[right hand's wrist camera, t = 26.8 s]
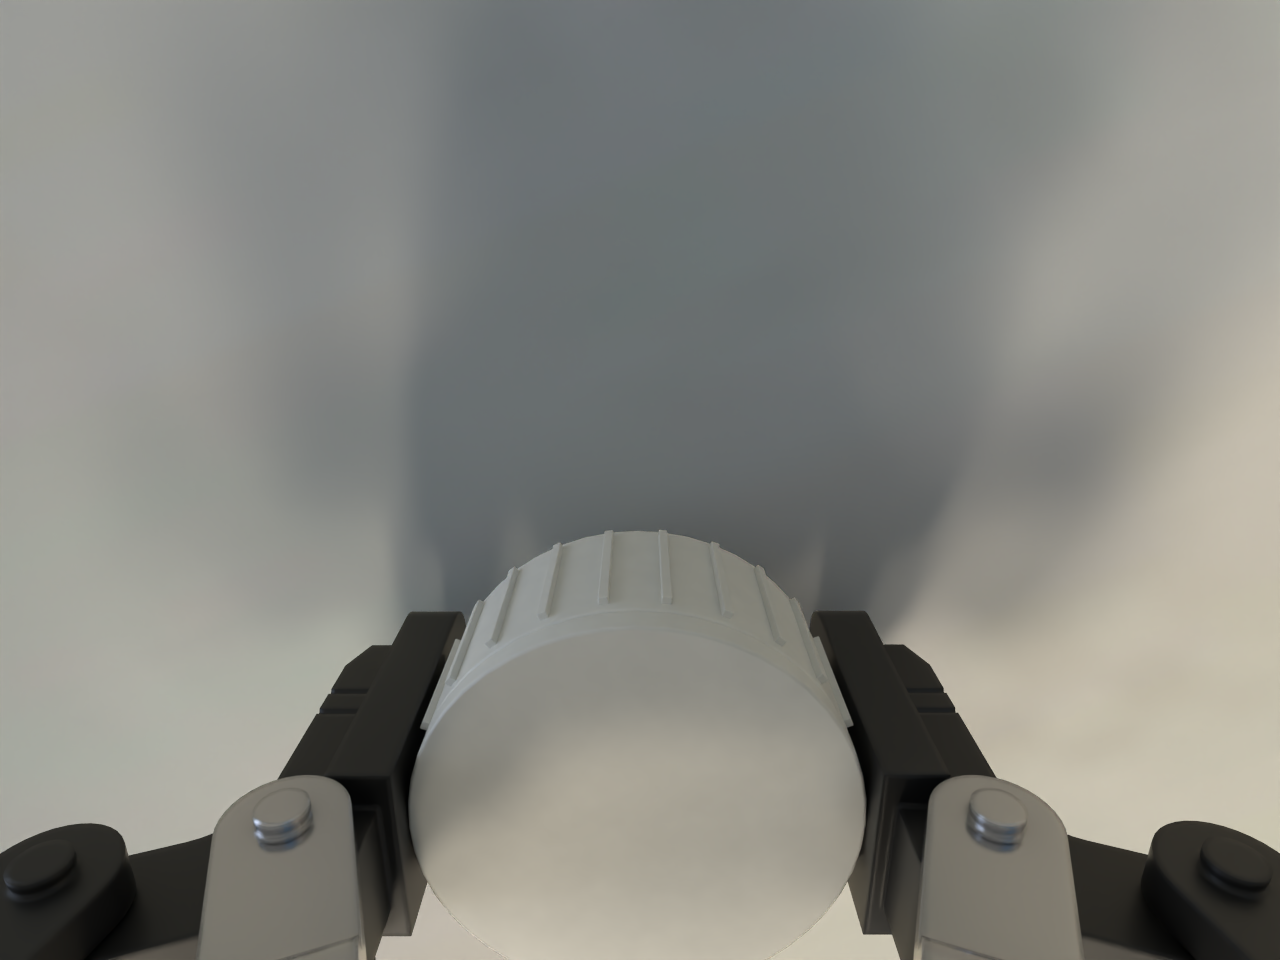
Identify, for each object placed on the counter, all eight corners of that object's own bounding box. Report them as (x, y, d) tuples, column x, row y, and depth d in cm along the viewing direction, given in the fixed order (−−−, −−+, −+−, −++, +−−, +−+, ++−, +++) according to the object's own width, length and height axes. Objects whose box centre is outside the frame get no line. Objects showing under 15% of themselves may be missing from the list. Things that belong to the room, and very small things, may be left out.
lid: (903, 695, 11) (970, 825, 9) (640, 899, 12) (640, 1058, 10) (635, 443, 10) (633, 522, 8) (372, 699, 11) (305, 829, 9)
